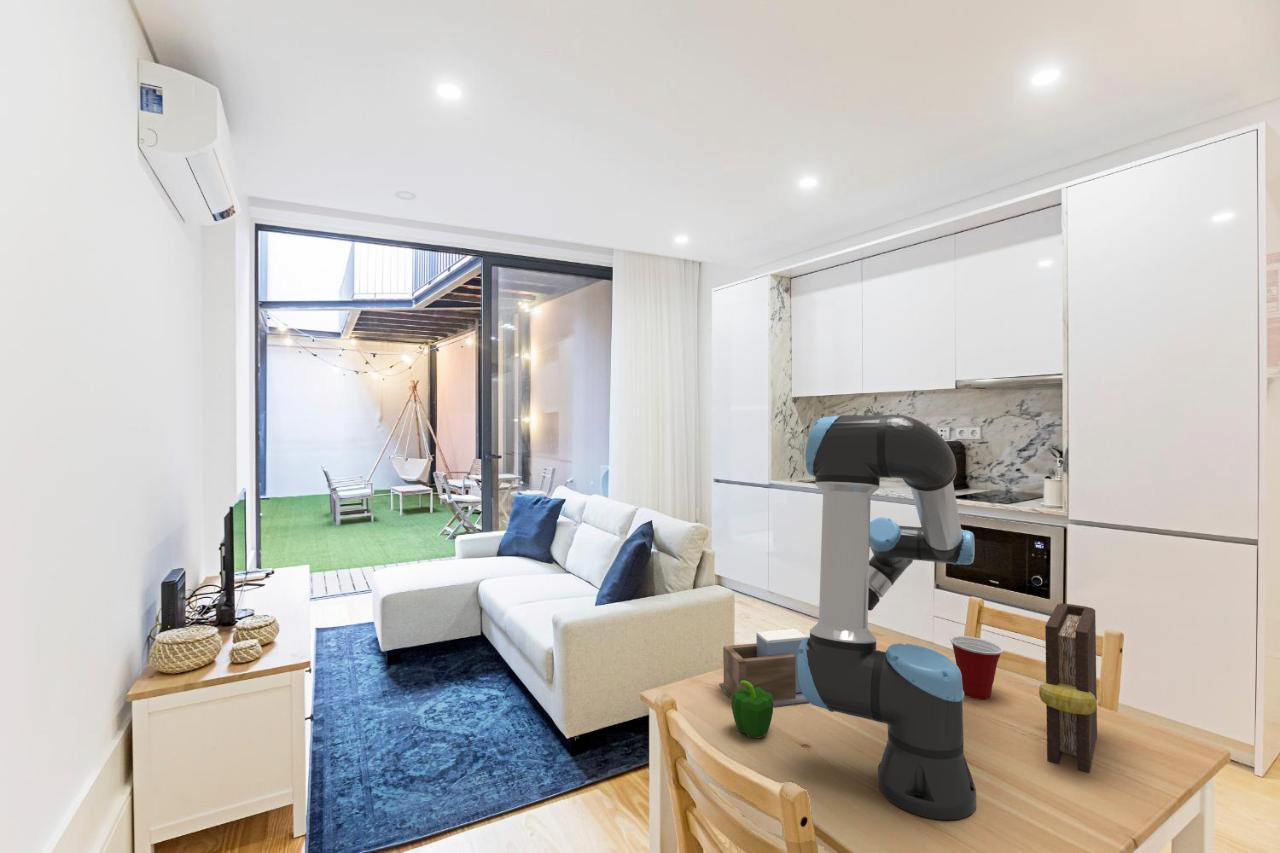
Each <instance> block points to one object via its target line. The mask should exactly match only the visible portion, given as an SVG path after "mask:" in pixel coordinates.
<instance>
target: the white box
mask: <svg viewBox="0 0 1280 853" xmlns="http://www.w3.org/2000/svg"><path fill="white" fill-rule="evenodd" d="M755 633H756V643H757V657H765V656H775V655H786V654H793V655H794V656H795V674H796V693H798V692H802V691H801V688H800V684H799V679H798V669H797V659H798V654H799V646H800V644H801V642H802V640H803V639H805V638H808V636H806V635H805V634H803V633H802V632H800V631H799V630H797V629H796V628H788V629H778V630H777V629H776V630H766V631H765V630H763V631H756V632H755Z"/></svg>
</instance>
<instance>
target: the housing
mask: <svg viewBox="0 0 1280 853" xmlns="http://www.w3.org/2000/svg"><path fill="white" fill-rule="evenodd" d="M722 656H723V657H722V658H723V661H722V662H723V682H720V683H718V684H719V687H720V686H721V687H722V688H721V687H720V688H721V689H722V690H723V691H724V693H725V694H726V695H727V696H728V697H729V698H730V699H731V701H732V697H733V694H734V693H736V691H737V690H738V689H739V688H743V689H747V690H749V688H748V687H747V686H745V685H743V686H742V685H741V684H740V681H743V680H745V681H748V682H750V683H751V684H752V685H753V687H754V688H757V687H759V688H761V689H762V690H764V691H765V692H770V693H771V694H772V696H773V708H781V707H789V706H797V705H798V706H799V705H806V704H810V703H809V702H808V701H807V700H806V699H805V697H804V695H803V693H802V692H798V693H796V674H795V656H794V655H793V654H786V655H775V656H765V657H757V642H756V643H745V644H734V645H726V646H725V645H724V646H723V655H722Z"/></svg>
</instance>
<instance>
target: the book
mask: <svg viewBox="0 0 1280 853" xmlns="http://www.w3.org/2000/svg"><path fill="white" fill-rule="evenodd" d="M1096 624H1097V623H1096V609H1094V608H1093V607H1090V606H1089V607H1088V606H1086V605H1085V606H1084V605H1078V604H1077V605H1076V604H1072V603H1057V604H1056V606H1055V607H1054V610H1053V611H1052V613H1051V615H1050V616H1049V618H1048V620H1047V622H1046V624H1045V625H1044V626H1045V627H1044V628H1045V629H1044V630H1045V631H1044V633H1045V682H1042V683H1041V684H1040V685H1039V687H1038V688H1039V689H1038V690H1039V691H1038V693H1039V697H1040V701H1041V702H1042V703H1044V704H1045V705H1046V706H1045V707H1046V760H1047V762H1049V763H1052V764H1054V765H1059V764H1060V762H1061V759H1062V755H1063V753H1064V754H1065V753H1066V754H1069V755H1072V756H1076V760H1077V761H1076V764H1077V765H1076V769H1077V771H1079V772H1081V773H1082V772H1083V773H1085V774H1090V773H1091V769H1092V763H1093V759H1094V754H1095V753H1094V752H1095V749H1096V748H1095V747H1096V743H1097V738H1098V708H1097V705H1098V704H1097V702H1098V701H1097V699H1098V697H1097V696H1098V695H1097V638H1096V637H1097V635H1096V633H1097V630H1096V629H1097V628H1096Z"/></svg>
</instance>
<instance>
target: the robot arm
mask: <svg viewBox="0 0 1280 853" xmlns="http://www.w3.org/2000/svg"><path fill="white" fill-rule="evenodd" d="M804 455H805V457H804V458H805V459H804V460H805V469H806V471H807V473H808V474H809V475H810V476H813V477H815V478H814V480H815V481H814V484H815V486H816V487H817V488H818V489H819V490H820V492H821V494H822V510H821V511H822V512H821V515H822V517H821V540H820V541H821V543H820V544H821V545H820V570H819V571H820V572H819V573H820V574H819V575H820V577H819V604H818V610H819V611H818V622H817V624H815V625H814V626H813V627H812V628H811V629H810V630H809V636H807V638H805V639H803V640H802V642H801V644H800V646H799V654H798V659H797V669H798V679H799V684H800V688H801V691H802V693H803V695H804V697H805V699H806V700H807V701H808V702H809V703H808V704H810V705H813V707H814V706H815V707H818V708H820V709H825V710H827V711H829V712H831V713H834V712H836V713H840V714H845V715H849V716H852V717H857V718H860V719H861V718H862V719H866V720H870V721H874V722H877V723H882V724H886V725H887V741H886V744H885V746H884V750H883V753H882V756H881V759H880V762H879V764H878V766H877V772H876V773H877V774H876V775H877V787H878V789H879V791H880V792H881V794H882V795H883V796H884V797H885V798H886V799H887V800H888V801H889V802H891V803H892V804H893V805H895V806H897V807H899V808H900V809H903V810H905V811H906V812H908V813H911V814H914V815H917V816H921V817H923V818H929V819H934V820H935V819H936V820H943V821H944V820H945V821H947V820H948V821H949V820H952V821H953V820H958V819H963V818H966V817H968V816H970V815H972V814H973V813H974V812H975V810H976V808H977V789H976V785H975V783H974V779H973V776H972V773H971V771H970V769H969V765H968V762H967V759H966V756H965V753H964V710H963V709H964V702H963V700H965V699H964V698H965V695H964V691H963V686H962V675H961V671H960V669H959V667H958V666H957V665H956V662H955V661H954V660H952V659H951V658H950V657H948V656H946V655H944V654H943V653H940V652H938V651H936V650H933V649H931V648H928V647H924V646H921V645H918V644H911V643H905V644H903V643H894V644H890V645H889V646H888V647H887V649H886V650H885V651H881V650H878V649H877V638H876V637H875V635H874V634H873V633H872V632H871V631H870V630H869V626H868V624H869V622H868V621H869V611H870V612H871V611H873V610H874V608H875V607H876V606H877V605H878V603H879V602H880V598H883V597H884V596H885V595H886V594H887V593H888V591H889V590H890V588H891V587H892V586H894V584H895V582H896V581H898V579H899V578H900V577H901V575H902V574H903V573H904V572H905V571H906V569H908V567H909V566H910V565H911V564H913V561H921V562H922V561H923V562H924V561H925V562H933V563H942V564H951V565H955V566H956V565H967V566H968V565H971V564H973V563H974V560H975V552H976V551H975V549H976V547H975V545H976V544H975V534H974V533H973V532H972V531H970V530H966V529H965V530H964V529H962V526H961V521H960V515H959V509H958V508H959V507H958V504H957V497H956V493H955V487H954V480H955V478H956V475H957V471H958V470H957V461H956V458H955V455H954V453H953V450H952V449H951V447H950V446H949V444H948V443H947V442H946V441H945V439H944V438H943V437H942V436H941V435H940V434H939V433H938V432H937V431H936V430H934V429H933V428H932V427H931V426H929V425H928V424H925V422H922V421H921V420H918V419H916V418H914V417H910V416H907V415H903V414H889V415H887V414H886V415H885V414H884V415H882V414H877V415H871V414H869V415H868V414H867V415H866V414H865V415H862V414H860V415H859V414H858V415H857V414H856V415H855V414H853V415H852V414H851V415H850V414H848V415H847V414H846V415H845V414H842V415H841V414H840V415H839V414H838V415H834V416H824V417H821V418H818V419H817V420H816V421H815V422H814V424H813V425H812V427H811V429H810V430H809V434H808V436H807V441H806V446H805V453H804ZM881 478H883V479H885V478H889V479H891V478H894V479H902V480H903V482H904V484H906V486H908V487H909V488H910V490H911V493H912V494H911V495H912V497H913V501H914V505H915V508H916V512H917V515H918V519H919V524H920V526H911V525H899V524H898V523H897V522H896V521H895V520H893V519H892V518H890V517H884V516H881V517H877V518H874V519H872V520H871V500H872V498H871V497H872V496H873V495H874V493H876V492H877V491H878V490H879V489H880V488H881V487H880V484H881V483H880V482H881V481H880V480H881ZM870 549H871V553H872V557H871V558H870Z"/></svg>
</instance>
